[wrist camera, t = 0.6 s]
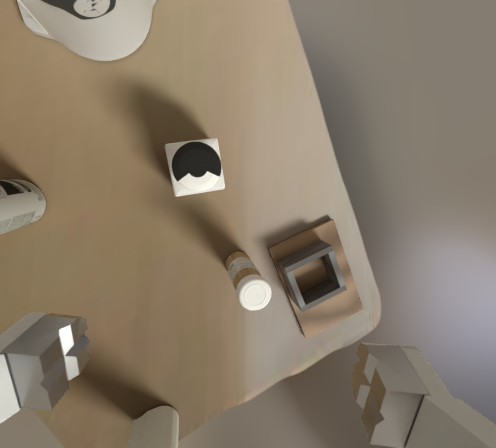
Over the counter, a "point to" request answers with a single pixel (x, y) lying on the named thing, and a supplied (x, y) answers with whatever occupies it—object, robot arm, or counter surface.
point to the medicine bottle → (195, 166)
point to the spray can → (19, 204)
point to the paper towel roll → (155, 429)
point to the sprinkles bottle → (248, 282)
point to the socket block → (316, 277)
